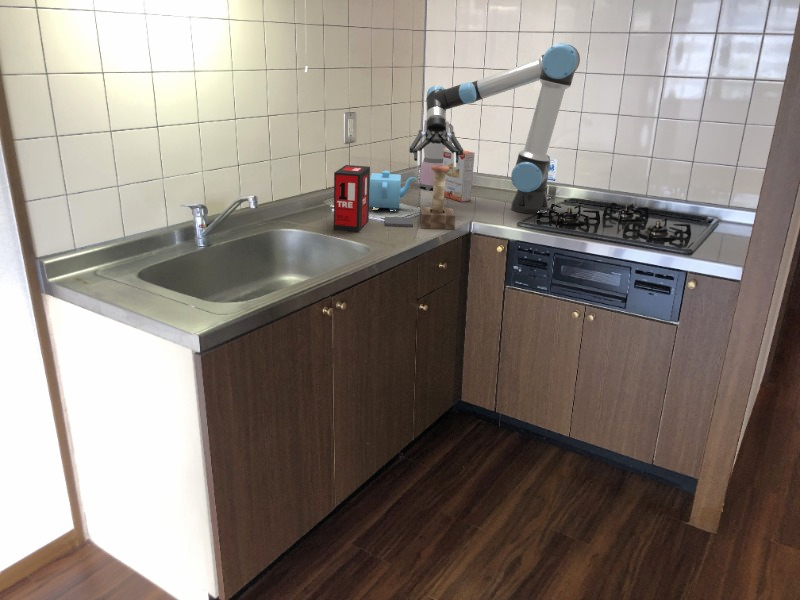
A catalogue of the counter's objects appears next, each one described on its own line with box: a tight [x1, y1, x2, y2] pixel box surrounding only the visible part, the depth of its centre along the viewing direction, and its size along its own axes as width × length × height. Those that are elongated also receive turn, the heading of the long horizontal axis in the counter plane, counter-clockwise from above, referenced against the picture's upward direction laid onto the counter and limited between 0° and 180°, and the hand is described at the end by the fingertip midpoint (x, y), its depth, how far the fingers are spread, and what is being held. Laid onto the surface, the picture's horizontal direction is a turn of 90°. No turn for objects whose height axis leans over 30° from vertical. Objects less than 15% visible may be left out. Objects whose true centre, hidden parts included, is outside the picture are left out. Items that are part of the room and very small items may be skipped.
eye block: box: [419, 206, 456, 230], centre depth 240 cm, size 12×12×5 cm
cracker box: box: [443, 148, 476, 203], centre depth 281 cm, size 14×6×21 cm, turn 36°
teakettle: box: [369, 170, 417, 211], centre depth 259 cm, size 19×19×15 cm
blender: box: [419, 118, 454, 191], centre depth 299 cm, size 16×12×32 cm
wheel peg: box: [431, 165, 449, 213], centre depth 237 cm, size 6×6×21 cm
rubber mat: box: [384, 216, 414, 228], centre depth 240 cm, size 10×10×1 cm
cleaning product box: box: [333, 164, 371, 233], centre depth 230 cm, size 16×9×20 cm, turn 171°
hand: (436, 168), depth 243 cm, fingers open, 13 cm apart
